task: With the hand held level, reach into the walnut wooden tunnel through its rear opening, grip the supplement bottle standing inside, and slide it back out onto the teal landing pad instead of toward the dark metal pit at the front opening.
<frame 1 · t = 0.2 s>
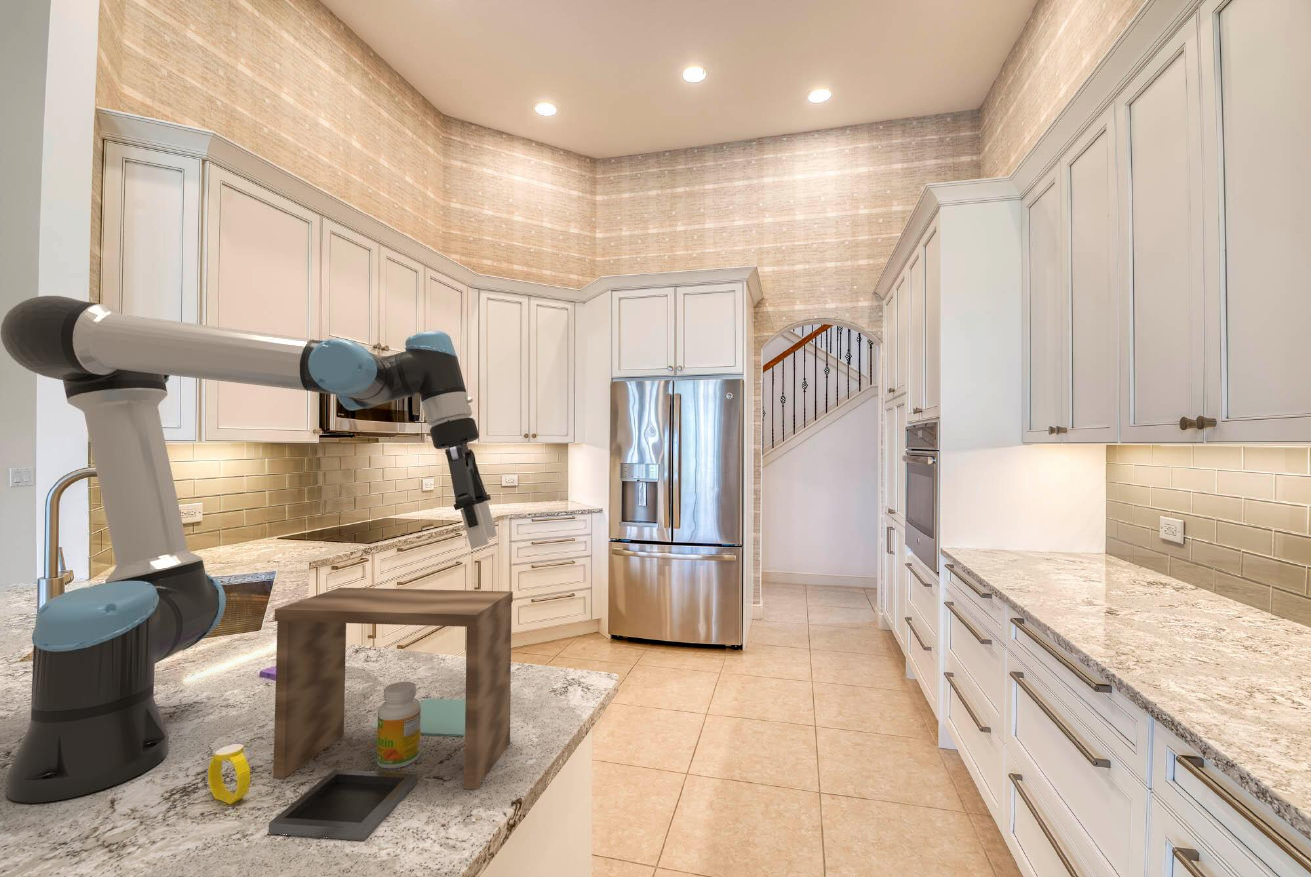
hand: (485, 541, 98), 27 cm above the countertop, tool tilted 15°, fingers open, 13 cm apart
supplement bottle: (398, 760, 78), on the countertop
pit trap: (347, 807, 67), on the countertop
landing pad: (443, 717, 91), on the countertop
sponges: (298, 678, 109), on the countertop
tunnel: (398, 759, 78), on the countertop
watch: (228, 800, 69), on the countertop
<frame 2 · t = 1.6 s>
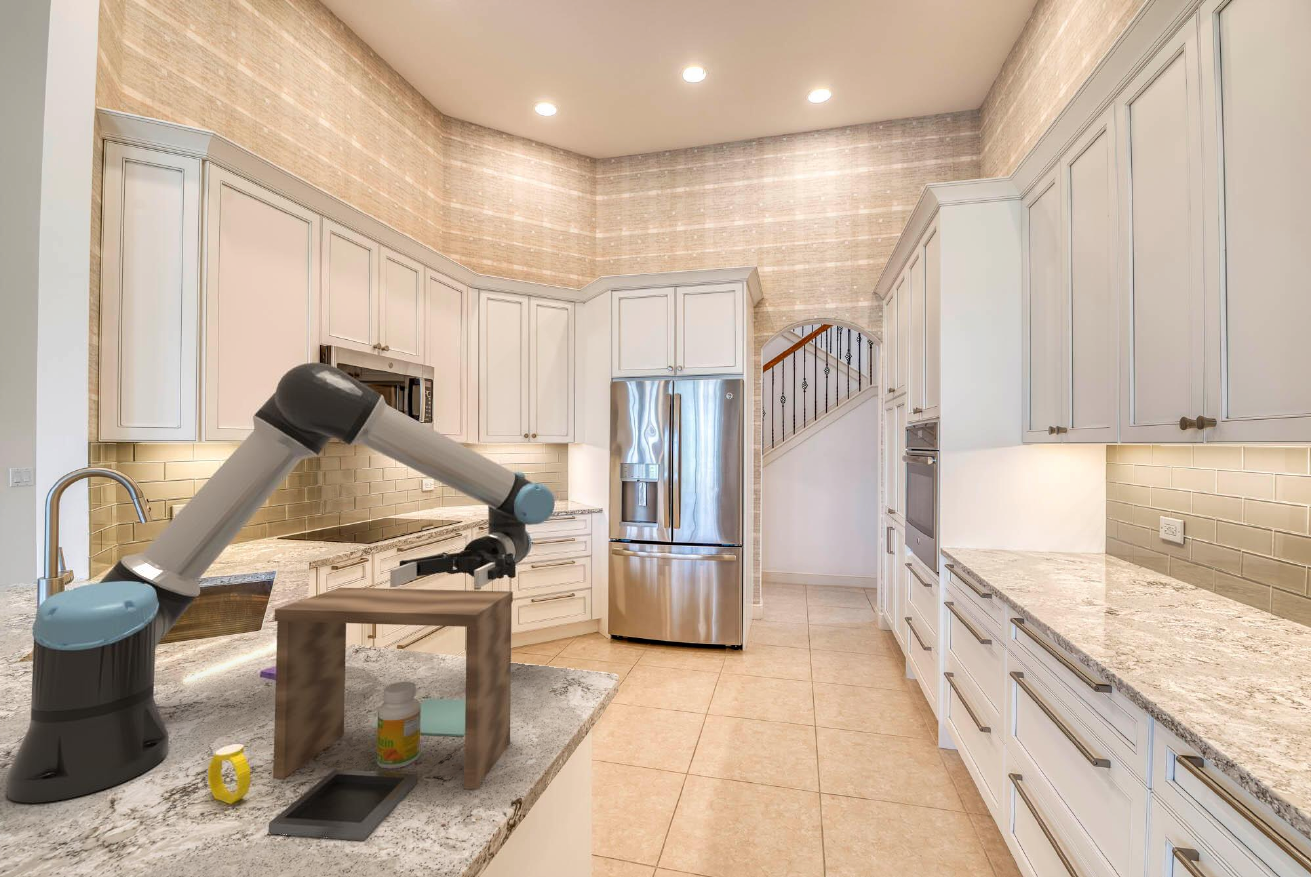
hand: (434, 578, 89), 22 cm above the countertop, tool horizontal, fingers open, 13 cm apart
nothing on the countertop moved.
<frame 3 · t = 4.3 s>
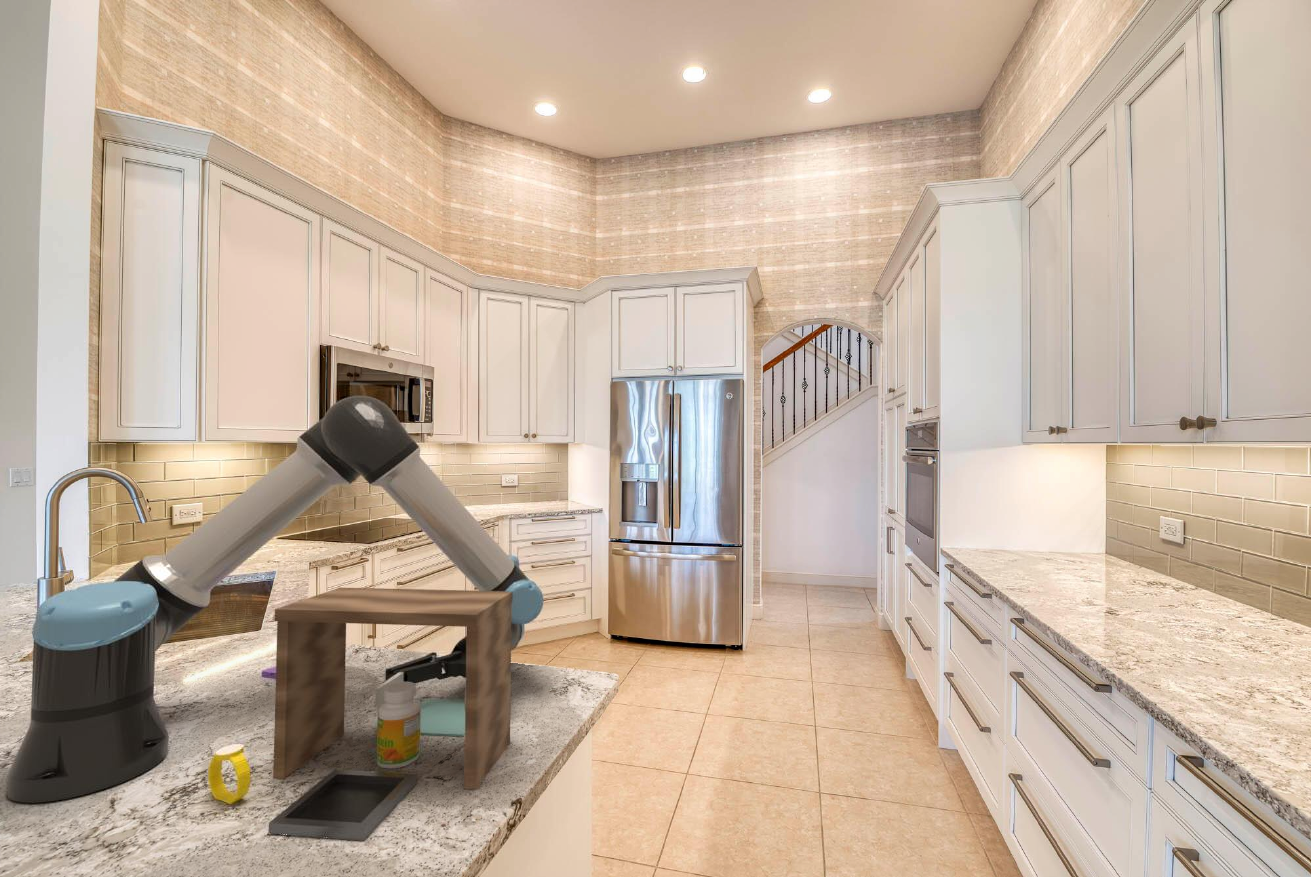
hand: (421, 699, 83), 6 cm above the countertop, tool horizontal, fingers open, 13 cm apart
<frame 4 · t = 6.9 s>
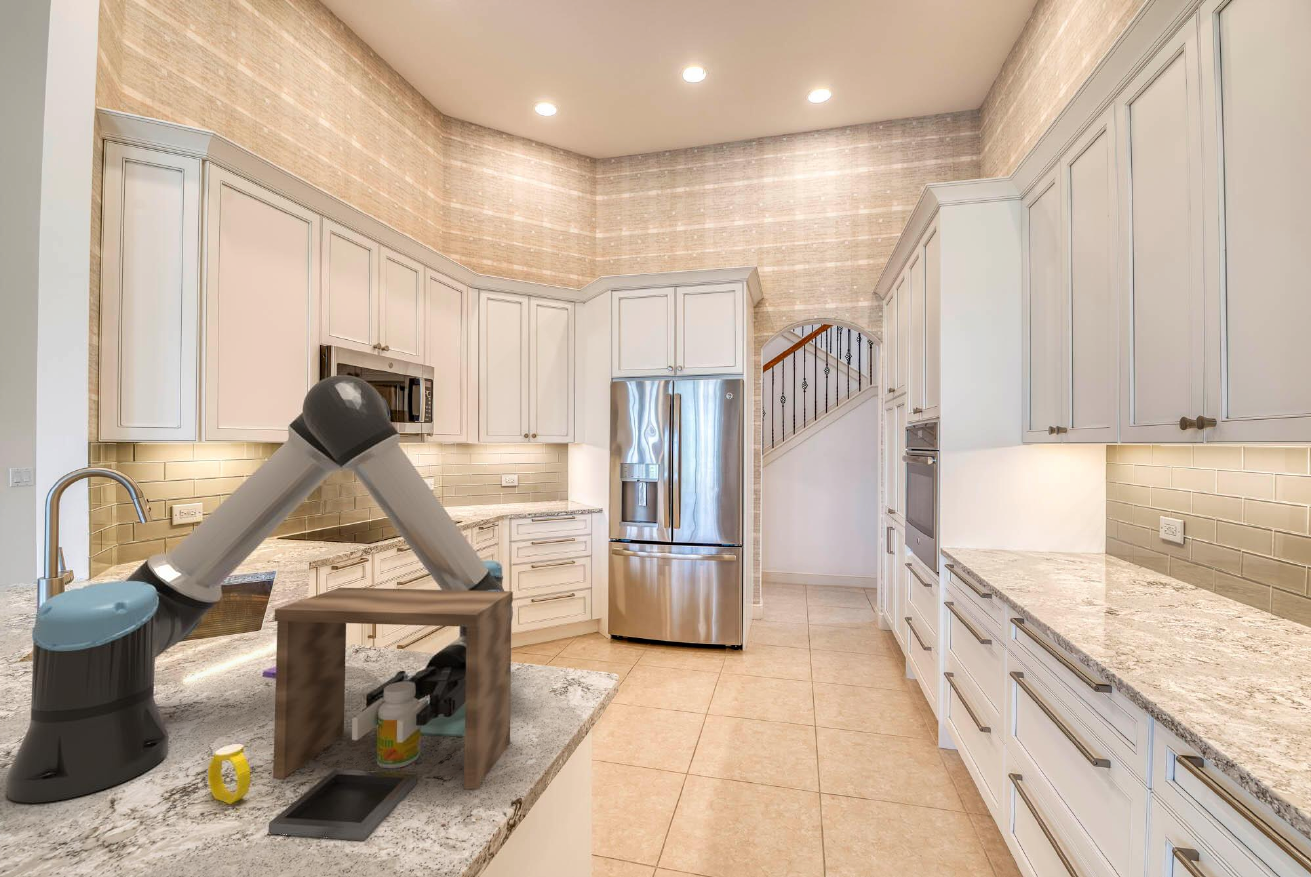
hand: (377, 730, 73), 6 cm above the countertop, tool horizontal, fingers closed on supplement bottle, 5 cm apart
supplement bottle: (398, 760, 78), on the countertop, touching gripper
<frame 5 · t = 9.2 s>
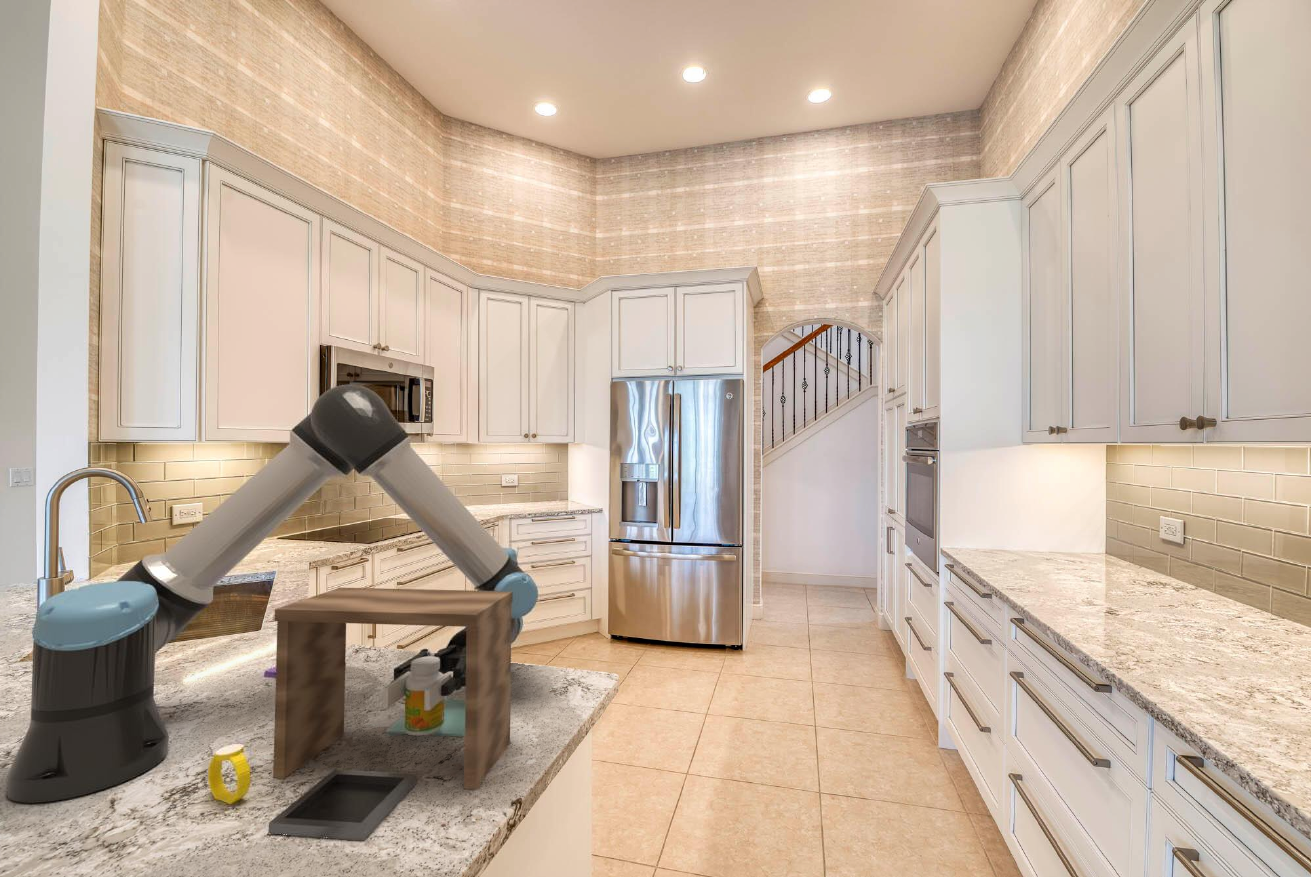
hand: (406, 699, 79), 8 cm above the countertop, tool horizontal, fingers closed on supplement bottle, 5 cm apart
supplement bottle: (424, 729, 84), point 1 cm above the countertop, touching gripper
when the fingers open (7 cm above the countertop, at t = 11.4 s): supplement bottle stays where it is, resting on landing pad.
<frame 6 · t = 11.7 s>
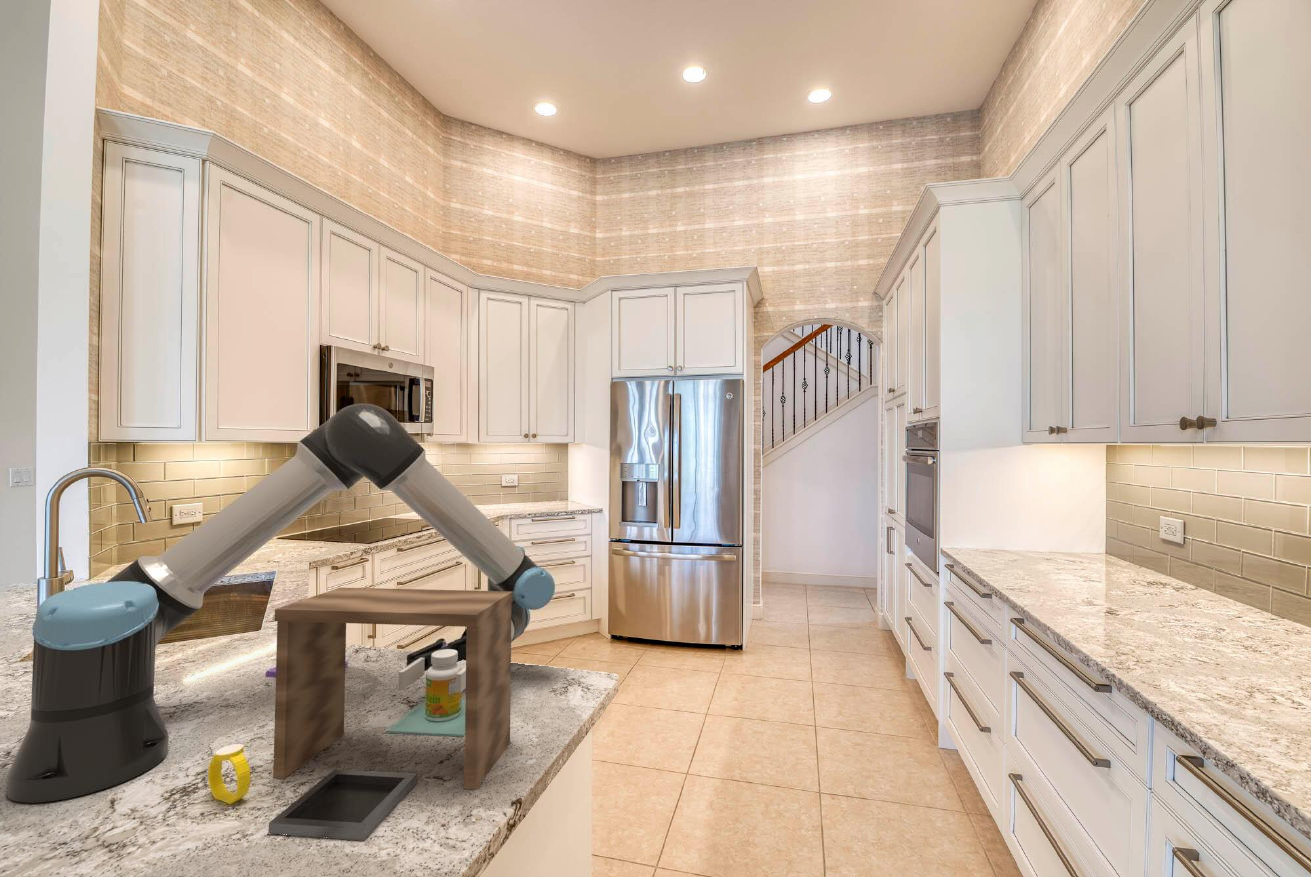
hand: (429, 682, 87), 7 cm above the countertop, tool horizontal, fingers open, 8 cm apart
supplement bottle: (443, 716, 91), resting on landing pad
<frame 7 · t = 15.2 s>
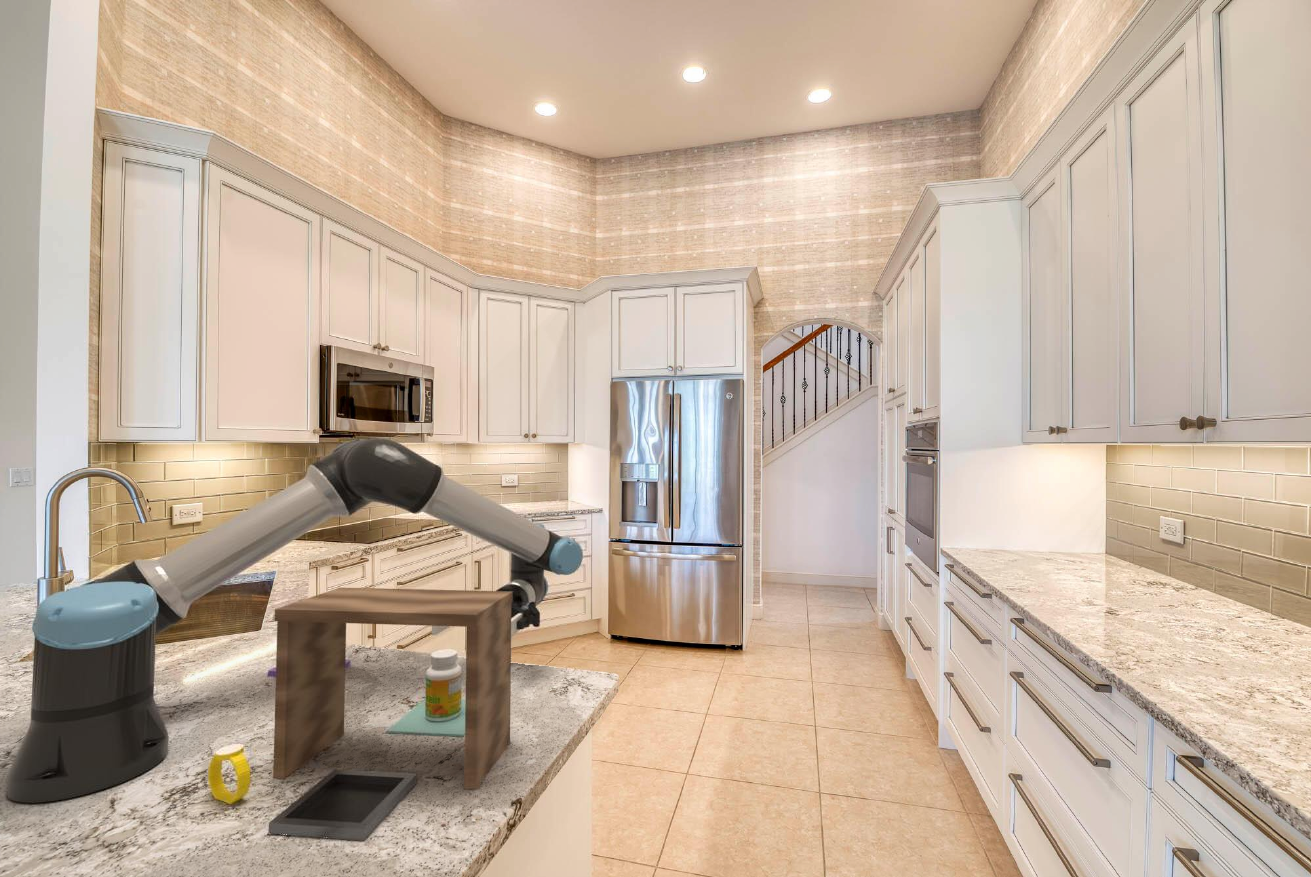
hand: (470, 628, 102), 11 cm above the countertop, tool horizontal, fingers open, 13 cm apart
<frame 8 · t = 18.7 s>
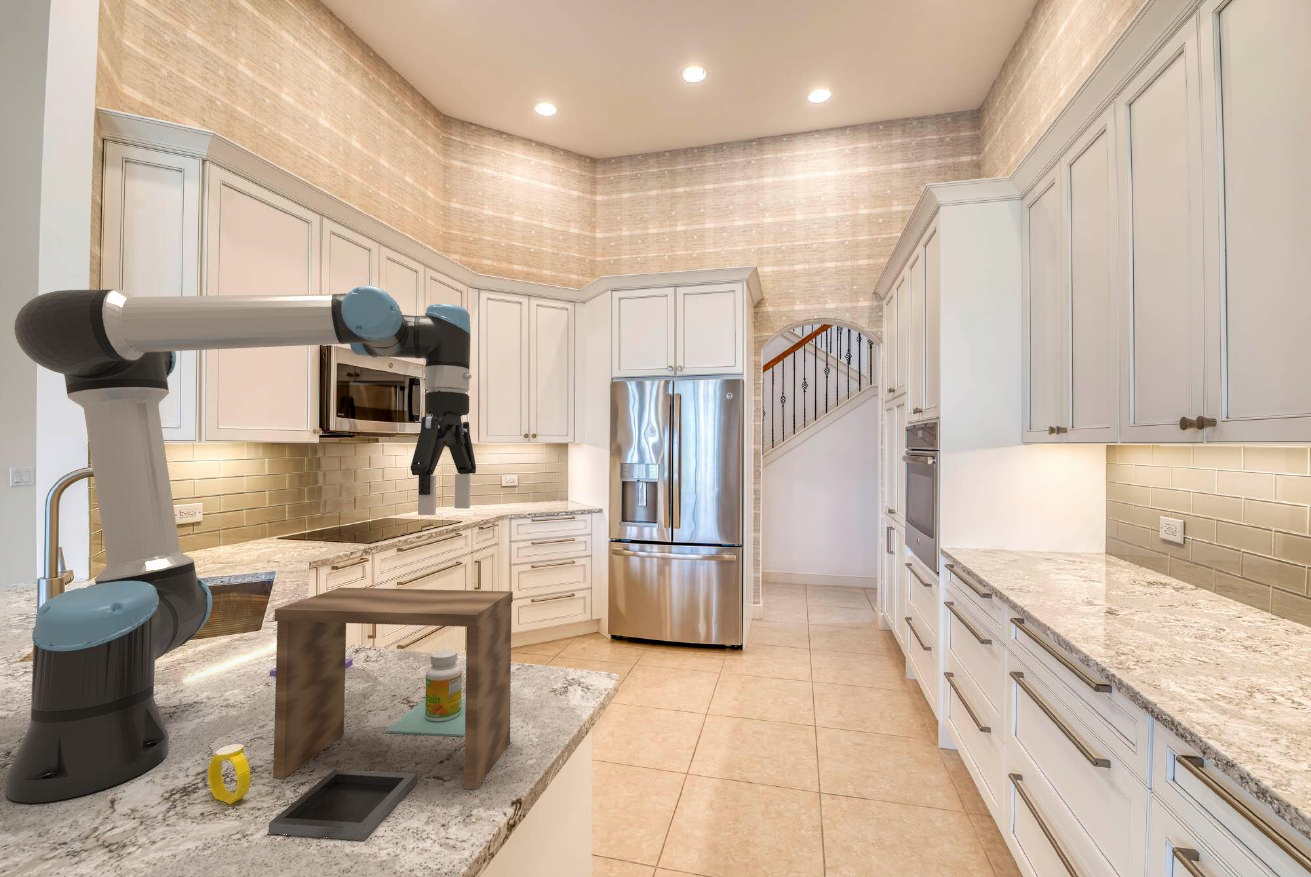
hand: (445, 511, 102), 32 cm above the countertop, tool pointing down, fingers open, 13 cm apart
at the end: supplement bottle inside the target area (0.0 cm from its centre), resting on landing pad; supplement bottle tilted 0°; the gripper is holding nothing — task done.
